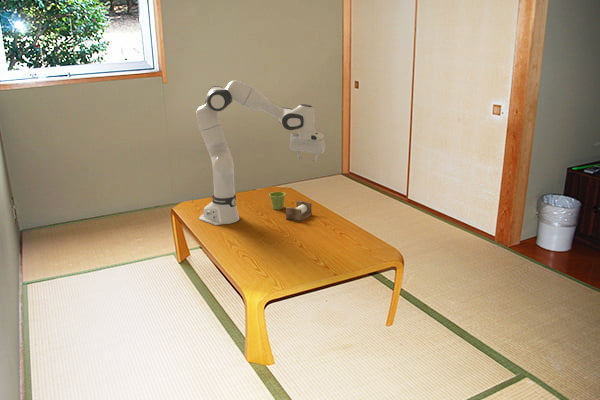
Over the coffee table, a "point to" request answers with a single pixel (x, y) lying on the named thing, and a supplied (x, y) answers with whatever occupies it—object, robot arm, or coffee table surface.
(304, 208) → the paper roll
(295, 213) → the walnut cradle
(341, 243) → the coffee table surface
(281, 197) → the plant pot
